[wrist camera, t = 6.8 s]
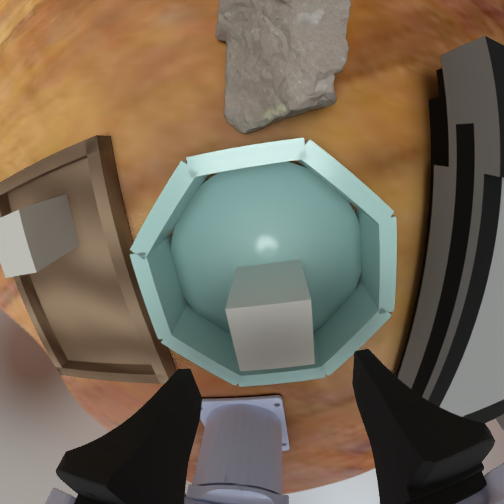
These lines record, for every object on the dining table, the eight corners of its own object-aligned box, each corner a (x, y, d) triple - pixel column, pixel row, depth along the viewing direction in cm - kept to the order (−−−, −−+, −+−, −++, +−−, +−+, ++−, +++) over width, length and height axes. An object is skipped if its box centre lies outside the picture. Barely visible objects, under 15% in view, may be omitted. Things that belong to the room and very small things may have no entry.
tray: (176, 369, 23) (170, 383, 21) (68, 364, 24) (60, 374, 22) (110, 135, 17) (96, 135, 15) (3, 184, 18) (-10, 188, 16)
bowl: (370, 329, 20) (387, 365, 16) (191, 350, 22) (178, 388, 18) (362, 135, 16) (388, 131, 12) (143, 170, 17) (110, 177, 13)
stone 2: (305, 314, 19) (314, 363, 14) (246, 320, 20) (239, 371, 15) (300, 259, 18) (310, 299, 13) (236, 267, 18) (225, 308, 13)
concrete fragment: (209, 129, 17) (180, 119, 11) (230, -41, 12) (217, -90, 6) (325, 139, 16) (351, 133, 11) (330, -33, 12) (347, -81, 6)
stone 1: (79, 245, 19) (36, 272, 14) (46, 252, 19) (5, 277, 14) (66, 194, 18) (18, 209, 13) (34, 206, 18) (-11, 223, 13)
